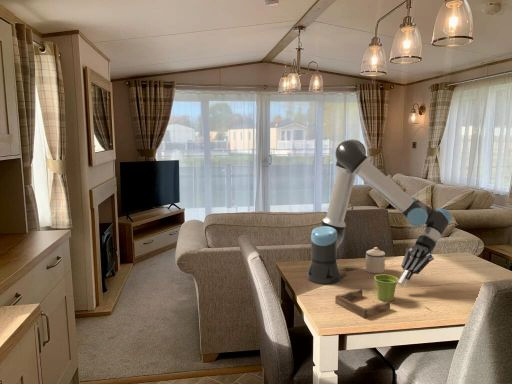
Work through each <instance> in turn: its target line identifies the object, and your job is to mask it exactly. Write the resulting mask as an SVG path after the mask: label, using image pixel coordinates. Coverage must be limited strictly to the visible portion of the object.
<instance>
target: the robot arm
mask: <svg viewBox="0 0 512 384" xmlns="http://www.w3.org/2000/svg"><path fill="white" fill-rule="evenodd" d="M366 151H367V149H366V147H365V145H364V143H362V142H361V141H360V140H357V139H347V140H344V141H342V142H340V143H339V144H338V145H337V147H336V148H335V153H334V154H335V155H334V156H335V158H336V162H335V163H336V164H335V167H336V168H337V172H336V177H335V180H334V181H335V182H334V184H333V188H332V193H331V197H330V201H329V205H328V209H327V212H326V216H325V217H324V218H322V219H321V224H320V226H317V227H314V228H313V229H312V231H311V234H310V235H311V236H310V240H311V242H310V243H311V244H310V248H311V249H310V250H311V251H310V253H311V254H310V264H309V266H308V268H307V269H308V270H307V273H306V274H307V275H306V278H307V279H308V280H309V282H311V283H316V284H322V285H325V284H326V285H331V284H335V283H338V282H339V281H340V280H341V272H340V269H339V267H338V263H337V261H338V260H337V259H338V258H337V257H338V255H337V254H338V251H337V250H338V248H339V246H340V245H341V244H342V243H343V241H344V239H345V230H346V226H347V225H346V222H345V218H346V213H347V210H348V206H349V201H350V198H351V194H352V191H353V186H354V183H355V180H356V176H358V177H359V178H360V179H361V180H362V181H363V182H365V183H366V184H368V186H370V187H371V188H372V189H373V190H374V191H375V192H376V193H377V194H379V195H380V196H381V197H382V198H383V199H385V201H387V202H388V203H389V204H390V205H391V206H393V208H394V209H396V210H397V211H398V212H400V214H402V215H403V217H405V218H406V219H407V221H408V223H409V224H410V225H411V226H414V227H422V226H424V225H425V227H424V228H423V229H422V231H421V233H420V235H419V236H418V237H417V239H416V241H415V243H414V245H413V246H412V247H410V248H409V247H405V254H404V256H403V259H402V261H401V262H402V263H401V268H402V269H403V270H402V272H401V273H400V277H399V278H398V279H399V281H398V282H397V284H399V286H400V287H405V286H406V283H407V281H409V280H411V277H412V276H413V275H415V274H416V275H419V274H420V272H421V271H423V269H424V268H426V266H427V265H428V264H429V263H430V262H432V261H434V260H435V257H433V255H432V252H433V251H434V249H435V247H436V245H437V244H438V242H439V240H440V239H441V238H442V235H443V234H444V232H445V231H446V229H447V227H448V226H449V225H450V222H451V221H452V218H453V216H452V213H451V212H450V211H449V210H447V209H444V208H442V207H438V208H436V209H434V208H432V207H430V206H428V205H427V204H425V203H424V202H422V201H421V200H420V199H418V198H415V197H413V196H410V195H408V194H407V192H405V191H404V190H403V189H402V188H400V187H399V186H398V185H397V184H396V183H394V182H393V181H392V180H391V179H390V178H389V177H387V176H386V175H385V174H384V173H383V172H382V171H381V170H380V169H378V168H377V166H375V165H374V164H373V163H372V162H370V160H369V157H368V156H367V152H366Z"/></svg>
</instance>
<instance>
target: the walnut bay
mask: <svg viewBox="0 0 512 384" xmlns="http://www.w3.org/2000/svg"><path fill="white" fill-rule="evenodd" d="M363 291H364V290H363V289H362V288H358V289H355V290H351V291H348V292H344V293H341V294H338V295H335V300H334V301H335V304H337V305H338V306H340V307H342V308H343V309H346V310H347V311H349V312H351V313H353V314H354V315H357V316H360V317H361V318H363V319H366V318H370V317H373V316H375V315H378V314H380V313H384V312H386V311H389V310H390V309H391V301H383V302H380V303H376V304H374V305H371V306H368V307H365V308H364V307H362V306H360V305H358V304H356V303H353V302H352V300H355V299H358V298H361V297H363Z"/></svg>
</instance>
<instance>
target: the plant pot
mask: <svg viewBox="0 0 512 384" xmlns="http://www.w3.org/2000/svg"><path fill="white" fill-rule="evenodd" d="M373 278H374V281H375V287H376V294H377V298H378V299H379V301H383V302H386V301H389V302H392V301H394V298H395V292H396V288H397V284H398V281H399V279H400V278H398V277H396V276H394V275H392V274H383V273H379V274H376V275H375V276H373Z"/></svg>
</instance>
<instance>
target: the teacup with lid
mask: <svg viewBox="0 0 512 384" xmlns="http://www.w3.org/2000/svg"><path fill="white" fill-rule="evenodd" d="M365 260H366V261H365V271H367V272H368V273H372V274H383V273H384V272H385V266H386V265H385V260H386V253H385V251H383V250H380V249H379V247H377V246H375V247H373V248H372V249H368V250H367V251H366V252H365Z"/></svg>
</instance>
